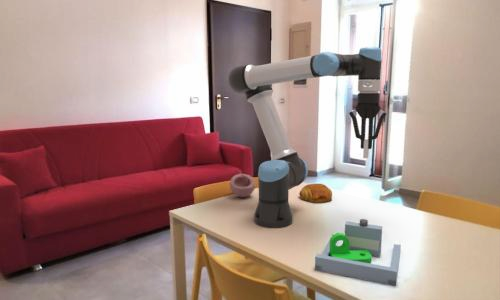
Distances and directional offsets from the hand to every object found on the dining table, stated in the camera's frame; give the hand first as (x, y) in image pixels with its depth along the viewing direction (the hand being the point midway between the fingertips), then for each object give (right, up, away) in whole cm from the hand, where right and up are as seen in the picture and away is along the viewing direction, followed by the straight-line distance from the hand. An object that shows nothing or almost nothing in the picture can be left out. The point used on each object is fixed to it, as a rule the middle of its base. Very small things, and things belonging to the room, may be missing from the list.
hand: (365, 157), depth 136 cm
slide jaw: (-6, -30, -17) cm, 35 cm away
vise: (-9, -31, -22) cm, 39 cm away
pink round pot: (-46, -20, +43) cm, 66 cm away
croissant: (-11, -20, +38) cm, 45 cm away
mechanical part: (-11, -31, -22) cm, 40 cm away
